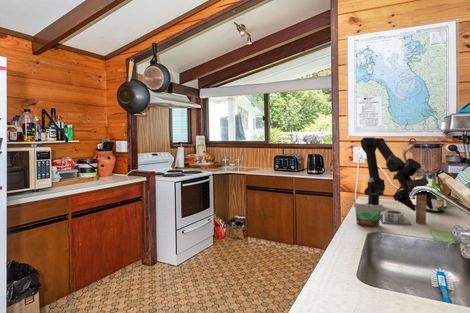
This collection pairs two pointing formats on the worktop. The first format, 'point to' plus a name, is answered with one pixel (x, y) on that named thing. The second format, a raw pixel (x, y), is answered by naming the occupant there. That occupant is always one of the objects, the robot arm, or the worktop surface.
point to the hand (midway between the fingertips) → (423, 209)
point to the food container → (368, 214)
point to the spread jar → (433, 204)
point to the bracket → (394, 217)
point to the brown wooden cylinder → (421, 209)
